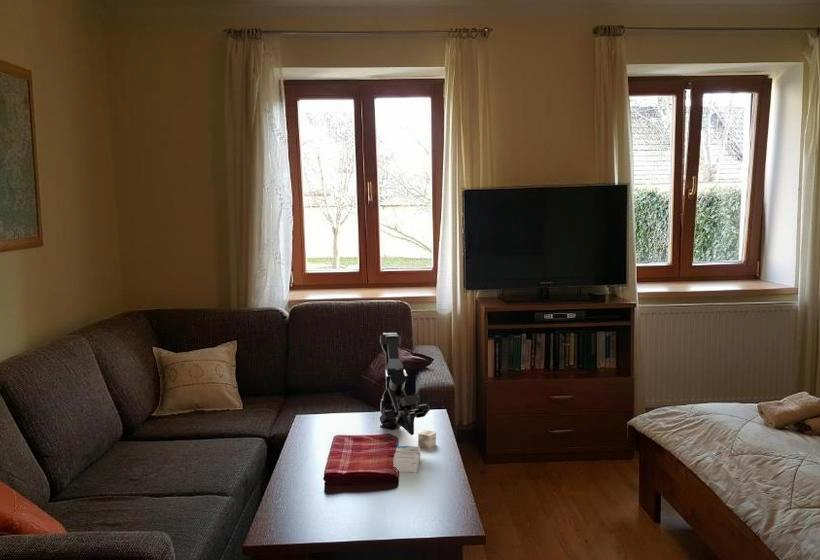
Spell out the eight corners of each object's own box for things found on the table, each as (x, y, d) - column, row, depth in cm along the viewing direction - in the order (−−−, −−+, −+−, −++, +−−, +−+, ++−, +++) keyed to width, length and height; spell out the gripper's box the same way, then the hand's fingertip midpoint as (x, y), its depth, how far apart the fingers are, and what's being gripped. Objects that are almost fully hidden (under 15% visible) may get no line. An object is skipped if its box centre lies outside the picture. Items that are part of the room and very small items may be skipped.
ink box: (397, 457, 229) (392, 472, 217) (397, 444, 228) (392, 458, 217) (420, 458, 228) (417, 473, 217) (420, 445, 227) (417, 459, 216)
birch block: (418, 446, 241) (418, 433, 240) (424, 441, 245) (424, 429, 244) (429, 448, 238) (429, 436, 238) (435, 444, 242) (436, 432, 242)
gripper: (383, 389, 226) (397, 428, 218) (427, 382, 235) (443, 420, 227) (373, 404, 234) (387, 442, 226) (416, 397, 243) (431, 434, 235)
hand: (412, 434), depth 228 cm, fingers closed
